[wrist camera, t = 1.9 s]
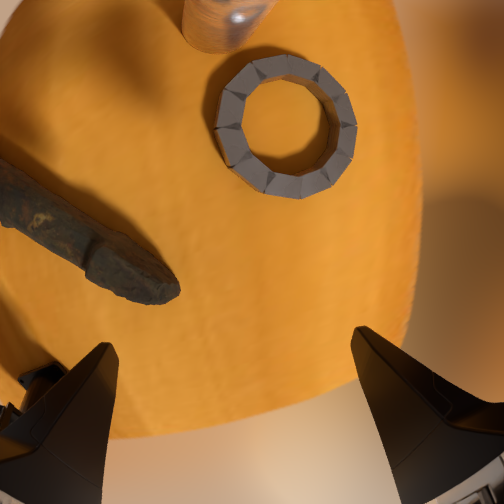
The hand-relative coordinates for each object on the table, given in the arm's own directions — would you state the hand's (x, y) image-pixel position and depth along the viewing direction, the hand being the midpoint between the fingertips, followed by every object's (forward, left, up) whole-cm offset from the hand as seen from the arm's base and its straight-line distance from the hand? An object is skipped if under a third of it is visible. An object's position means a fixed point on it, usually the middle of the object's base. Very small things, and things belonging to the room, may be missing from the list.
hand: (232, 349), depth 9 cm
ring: (+9, +6, -11) cm, 15 cm away
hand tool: (-7, +7, -12) cm, 15 cm away
